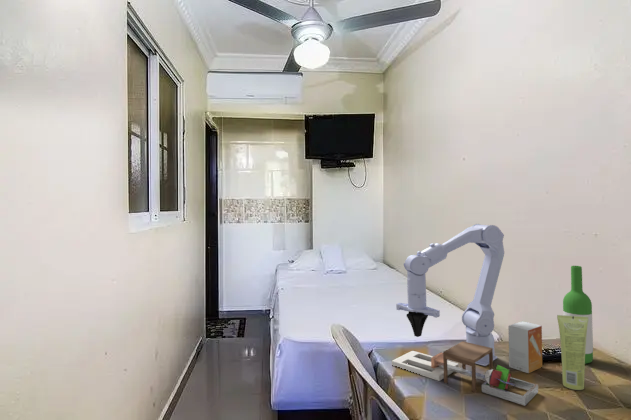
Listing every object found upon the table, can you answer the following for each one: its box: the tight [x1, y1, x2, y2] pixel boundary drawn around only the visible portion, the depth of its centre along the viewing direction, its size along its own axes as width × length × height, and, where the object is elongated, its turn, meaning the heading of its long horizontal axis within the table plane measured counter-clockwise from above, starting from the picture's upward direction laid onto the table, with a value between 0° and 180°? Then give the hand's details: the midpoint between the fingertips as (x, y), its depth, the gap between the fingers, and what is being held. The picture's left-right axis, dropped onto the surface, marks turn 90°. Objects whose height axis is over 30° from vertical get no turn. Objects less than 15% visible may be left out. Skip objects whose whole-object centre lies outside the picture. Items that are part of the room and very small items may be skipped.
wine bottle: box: [562, 265, 594, 365], centre depth 126 cm, size 8×8×30 cm
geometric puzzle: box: [484, 364, 515, 392], centre depth 107 cm, size 7×7×8 cm
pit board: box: [391, 350, 460, 382], centre depth 124 cm, size 12×16×2 cm
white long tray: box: [431, 352, 539, 406], centre depth 111 cm, size 10×27×4 cm, turn 44°
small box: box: [507, 320, 543, 374], centre depth 122 cm, size 8×6×13 cm
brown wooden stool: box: [442, 340, 494, 394], centre depth 114 cm, size 12×9×9 cm
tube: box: [556, 314, 588, 391], centre depth 108 cm, size 6×5×20 cm
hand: (417, 335), depth 126 cm, fingers closed
